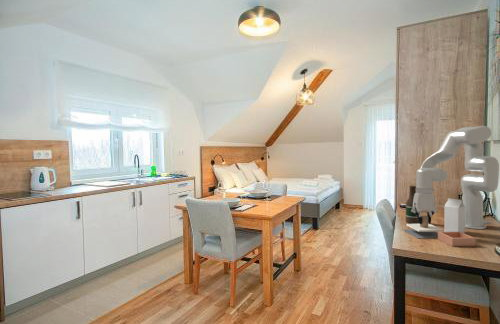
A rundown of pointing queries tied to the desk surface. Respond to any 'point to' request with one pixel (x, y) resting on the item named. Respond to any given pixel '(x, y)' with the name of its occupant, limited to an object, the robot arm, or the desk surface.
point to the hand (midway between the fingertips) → (424, 223)
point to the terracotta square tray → (456, 239)
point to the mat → (421, 234)
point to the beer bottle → (411, 216)
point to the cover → (424, 226)
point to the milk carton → (454, 216)
